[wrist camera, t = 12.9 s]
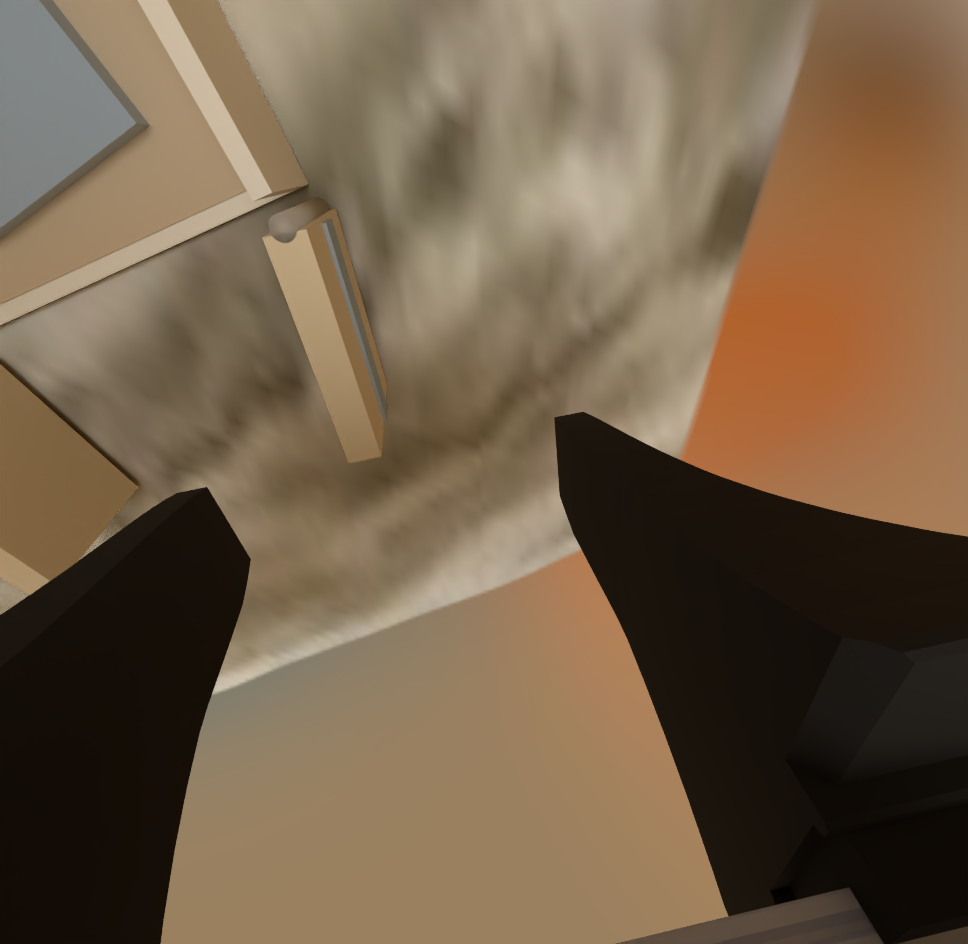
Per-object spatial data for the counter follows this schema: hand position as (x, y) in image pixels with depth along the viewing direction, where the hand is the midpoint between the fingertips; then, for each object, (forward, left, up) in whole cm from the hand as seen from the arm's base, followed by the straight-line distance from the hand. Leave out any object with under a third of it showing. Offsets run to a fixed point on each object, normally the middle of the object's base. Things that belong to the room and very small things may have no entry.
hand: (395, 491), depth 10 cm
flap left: (-13, +2, -10) cm, 16 cm away
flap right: (-1, +2, -10) cm, 10 cm away
